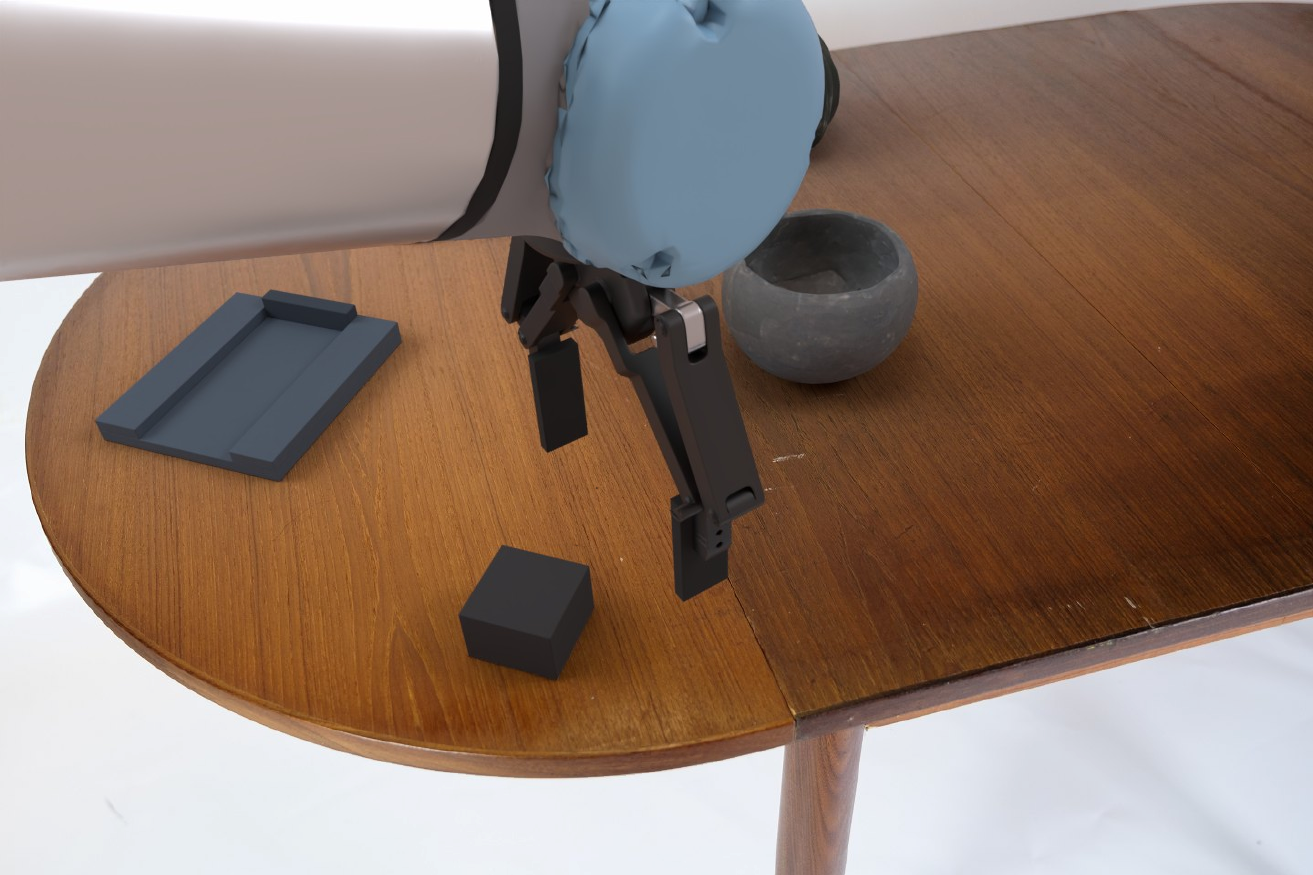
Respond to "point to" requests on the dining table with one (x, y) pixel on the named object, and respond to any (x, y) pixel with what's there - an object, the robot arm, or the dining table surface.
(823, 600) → the dining table surface
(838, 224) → the bowl
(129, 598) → the dining table surface
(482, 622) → the black block
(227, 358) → the dock pad
